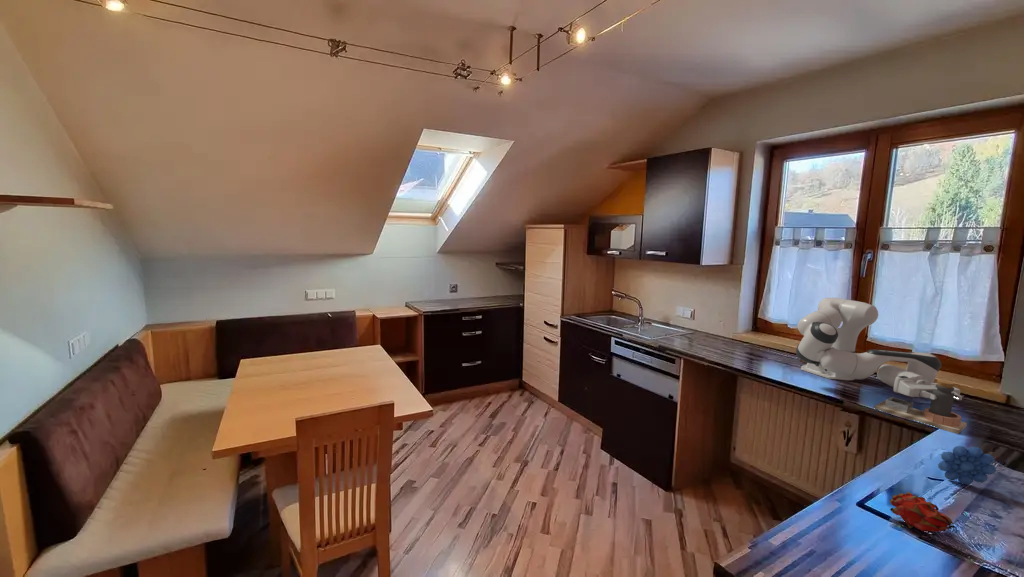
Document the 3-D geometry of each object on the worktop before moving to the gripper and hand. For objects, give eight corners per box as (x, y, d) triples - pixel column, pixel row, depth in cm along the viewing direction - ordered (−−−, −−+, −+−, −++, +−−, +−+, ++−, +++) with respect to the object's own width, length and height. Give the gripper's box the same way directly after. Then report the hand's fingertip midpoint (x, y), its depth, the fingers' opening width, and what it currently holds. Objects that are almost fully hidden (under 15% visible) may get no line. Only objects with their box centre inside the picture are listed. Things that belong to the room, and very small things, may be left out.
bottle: (952, 423, 166) (959, 385, 164) (931, 420, 169) (938, 382, 167) (945, 417, 172) (952, 380, 169) (925, 414, 174) (932, 377, 172)
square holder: (884, 406, 182) (885, 399, 181) (890, 403, 186) (891, 396, 185) (906, 413, 176) (907, 406, 176) (912, 409, 180) (913, 402, 180)
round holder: (920, 418, 172) (921, 410, 171) (927, 412, 177) (929, 405, 177) (955, 428, 163) (957, 420, 163) (962, 422, 169) (964, 415, 169)
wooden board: (874, 409, 183) (874, 405, 182) (884, 403, 189) (885, 400, 189) (958, 434, 162) (958, 430, 162) (966, 426, 169) (967, 423, 169)
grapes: (987, 484, 129) (995, 446, 128) (993, 495, 124) (1002, 455, 122) (933, 470, 136) (940, 433, 134) (937, 480, 131) (944, 442, 129)
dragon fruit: (882, 517, 115) (943, 549, 107) (882, 511, 110) (947, 545, 101) (895, 487, 117) (957, 517, 108) (896, 480, 111) (962, 511, 102)
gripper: (938, 392, 182) (973, 406, 169) (889, 391, 182) (920, 405, 168) (941, 378, 181) (976, 391, 168) (892, 376, 181) (923, 389, 167)
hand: (948, 398), depth 168 cm, fingers open, 8 cm apart
